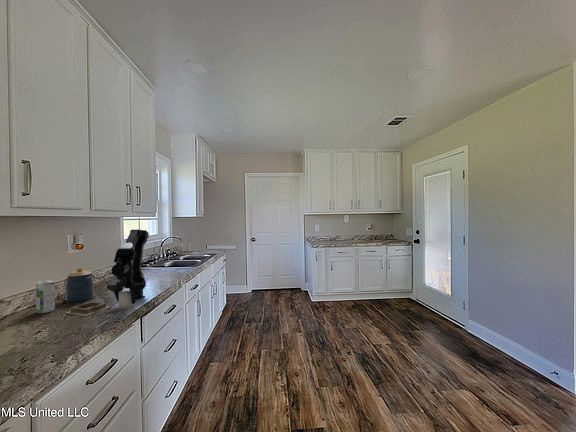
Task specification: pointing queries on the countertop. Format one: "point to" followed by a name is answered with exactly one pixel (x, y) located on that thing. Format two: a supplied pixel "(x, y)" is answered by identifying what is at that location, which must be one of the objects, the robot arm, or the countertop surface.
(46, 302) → the syrup box
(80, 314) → the holder
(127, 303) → the towel roll
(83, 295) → the canister
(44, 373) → the countertop surface
